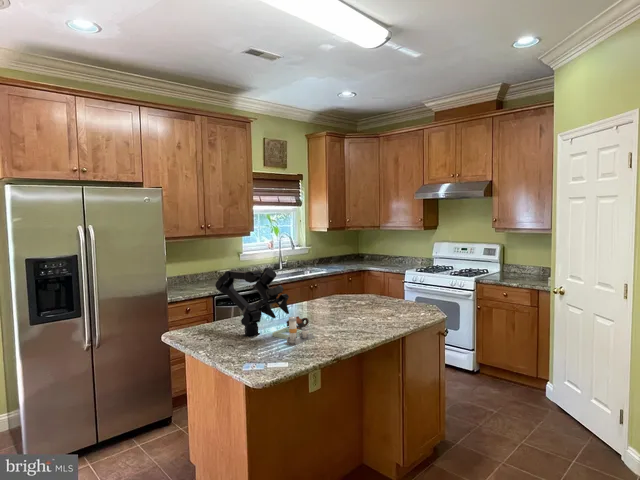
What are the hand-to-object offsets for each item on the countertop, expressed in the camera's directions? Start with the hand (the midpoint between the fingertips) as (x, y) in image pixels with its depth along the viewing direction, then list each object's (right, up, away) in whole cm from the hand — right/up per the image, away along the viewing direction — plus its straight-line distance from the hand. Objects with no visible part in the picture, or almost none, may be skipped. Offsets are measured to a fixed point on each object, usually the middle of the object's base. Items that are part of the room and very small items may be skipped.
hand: (281, 315), depth 199 cm
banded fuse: (+6, -12, -4) cm, 14 cm away
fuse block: (+9, -13, 0) cm, 15 cm away
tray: (+2, -12, +9) cm, 16 cm away
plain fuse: (+11, -11, +3) cm, 17 cm away
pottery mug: (+7, -12, +22) cm, 26 cm away
